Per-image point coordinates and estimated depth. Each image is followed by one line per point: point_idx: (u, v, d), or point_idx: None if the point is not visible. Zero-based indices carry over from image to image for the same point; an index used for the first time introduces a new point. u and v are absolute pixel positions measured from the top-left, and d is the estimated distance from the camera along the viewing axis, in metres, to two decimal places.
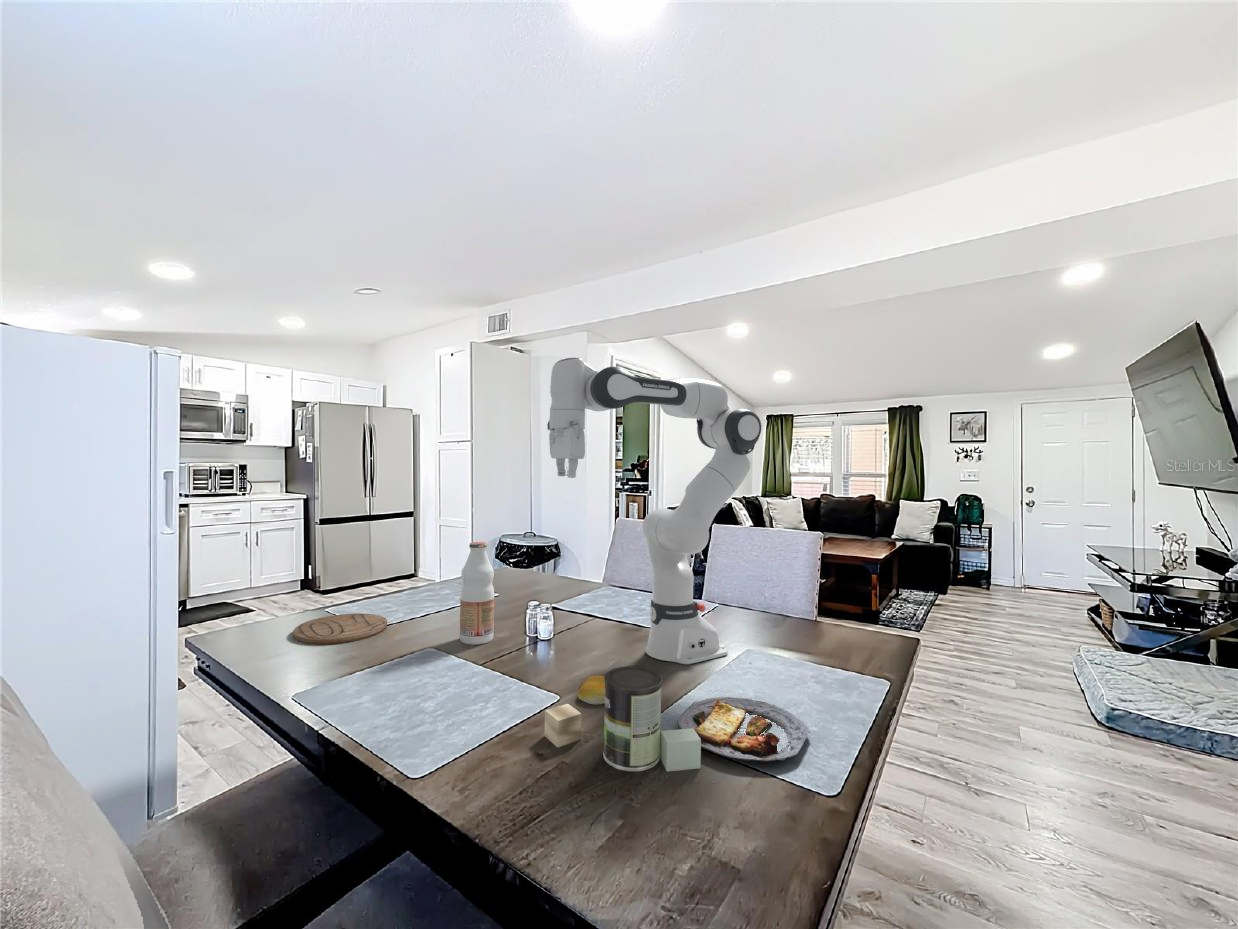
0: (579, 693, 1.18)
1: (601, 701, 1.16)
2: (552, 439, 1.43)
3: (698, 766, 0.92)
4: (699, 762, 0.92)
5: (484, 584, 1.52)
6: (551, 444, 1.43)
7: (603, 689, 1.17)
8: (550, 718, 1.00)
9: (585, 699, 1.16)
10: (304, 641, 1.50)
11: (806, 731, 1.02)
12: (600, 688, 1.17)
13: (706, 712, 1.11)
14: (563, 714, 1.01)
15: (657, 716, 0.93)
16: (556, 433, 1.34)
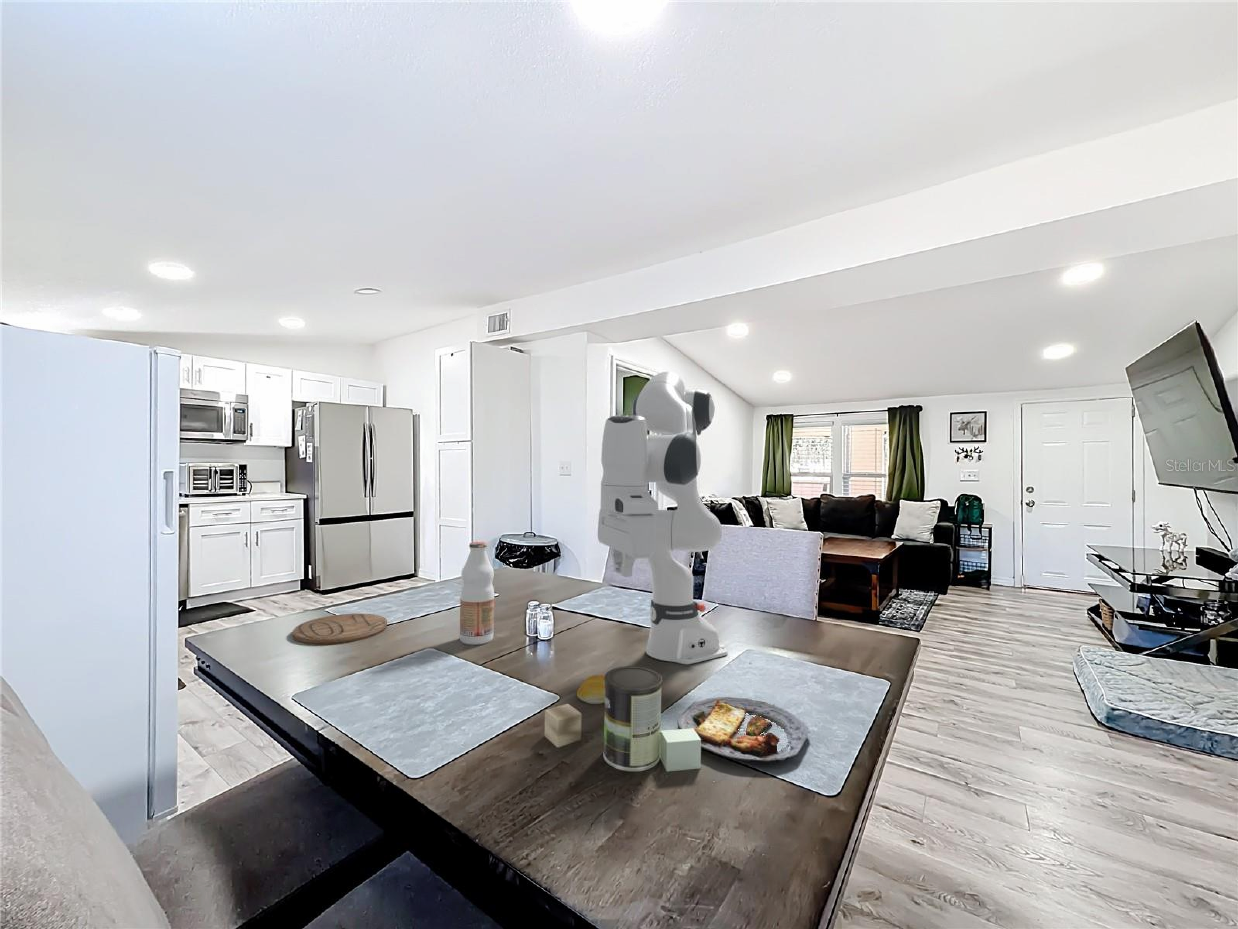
0: (578, 692, 1.18)
1: (600, 700, 1.16)
2: None
3: (698, 766, 0.92)
4: (699, 762, 0.92)
5: (484, 584, 1.52)
6: None
7: (602, 688, 1.17)
8: (550, 718, 1.00)
9: (584, 698, 1.16)
10: (304, 641, 1.50)
11: (806, 731, 1.02)
12: (599, 687, 1.17)
13: (706, 712, 1.11)
14: (563, 714, 1.01)
15: (657, 716, 0.93)
16: None
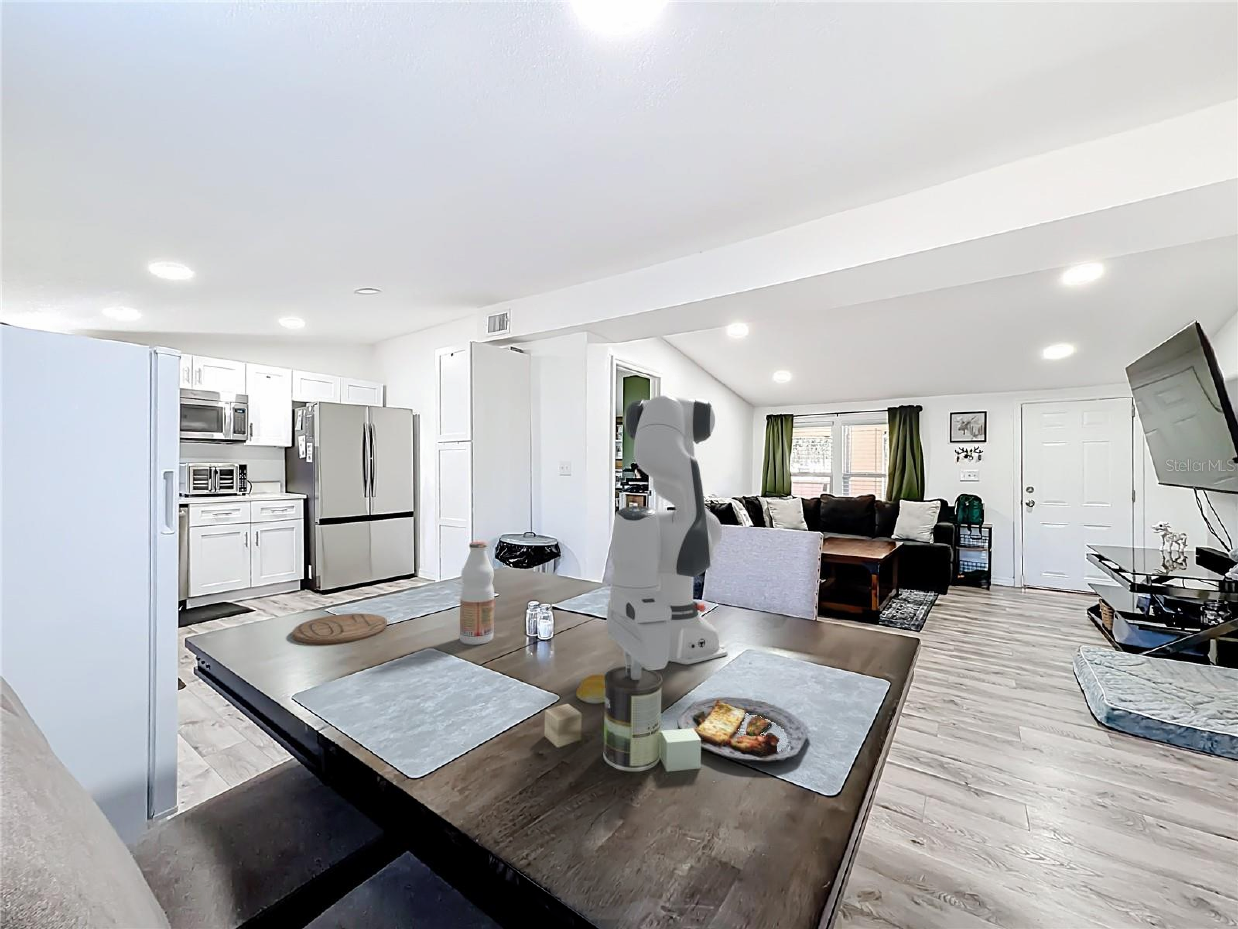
0: (578, 692, 1.18)
1: (600, 700, 1.16)
2: None
3: (698, 766, 0.92)
4: (699, 762, 0.92)
5: (484, 584, 1.52)
6: None
7: (601, 688, 1.17)
8: (550, 718, 1.00)
9: (584, 698, 1.16)
10: (304, 641, 1.50)
11: (806, 731, 1.02)
12: (598, 687, 1.17)
13: (706, 712, 1.11)
14: (563, 714, 1.01)
15: (657, 716, 0.93)
16: None
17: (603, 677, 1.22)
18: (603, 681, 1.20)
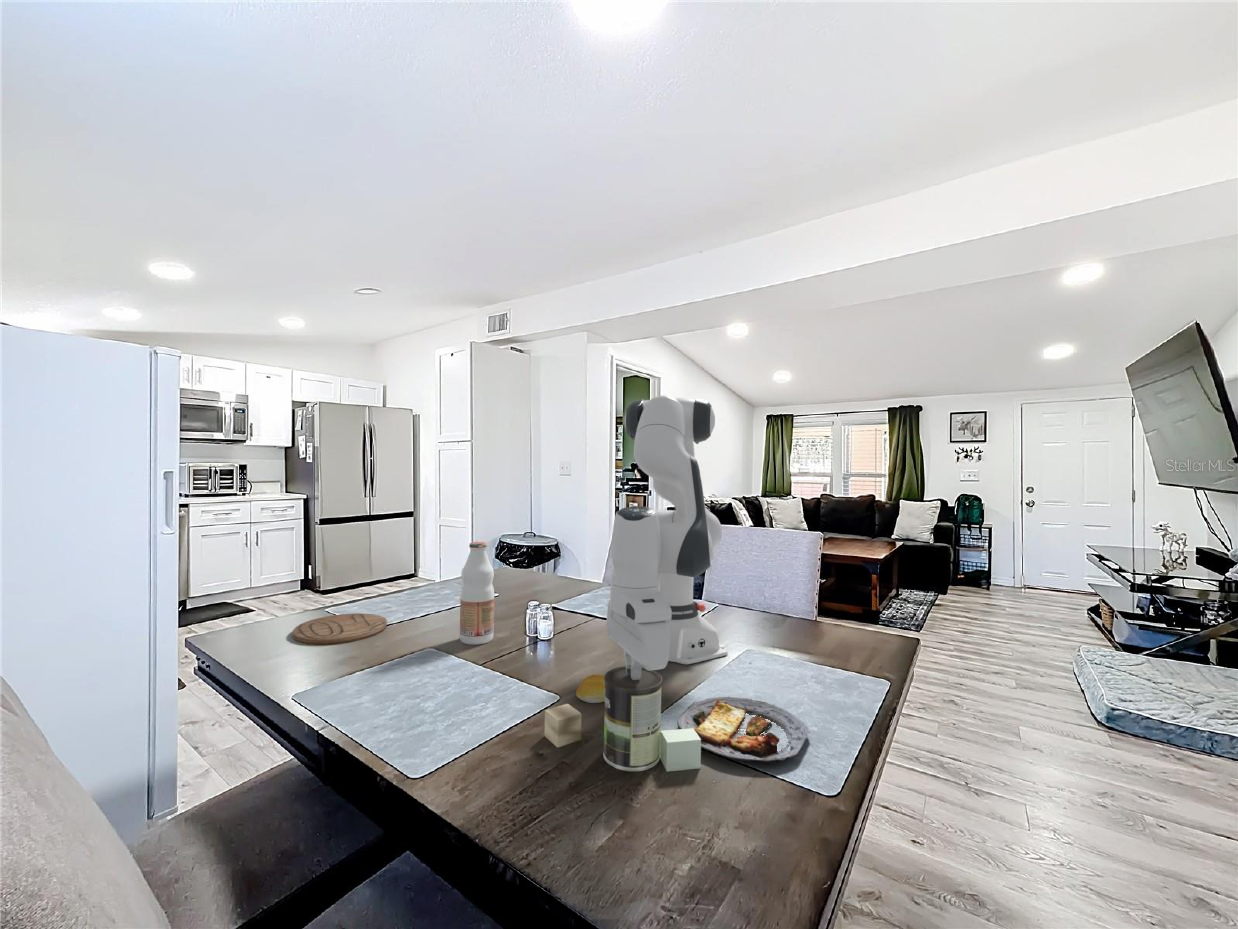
0: (577, 692, 1.18)
1: (599, 700, 1.16)
2: None
3: (698, 766, 0.92)
4: (699, 762, 0.92)
5: (484, 584, 1.52)
6: None
7: (601, 687, 1.17)
8: (550, 718, 1.00)
9: (583, 698, 1.16)
10: (303, 641, 1.50)
11: (806, 731, 1.02)
12: (598, 686, 1.17)
13: (706, 712, 1.11)
14: (563, 714, 1.01)
15: (657, 716, 0.93)
16: None
17: (603, 677, 1.22)
18: (603, 681, 1.21)
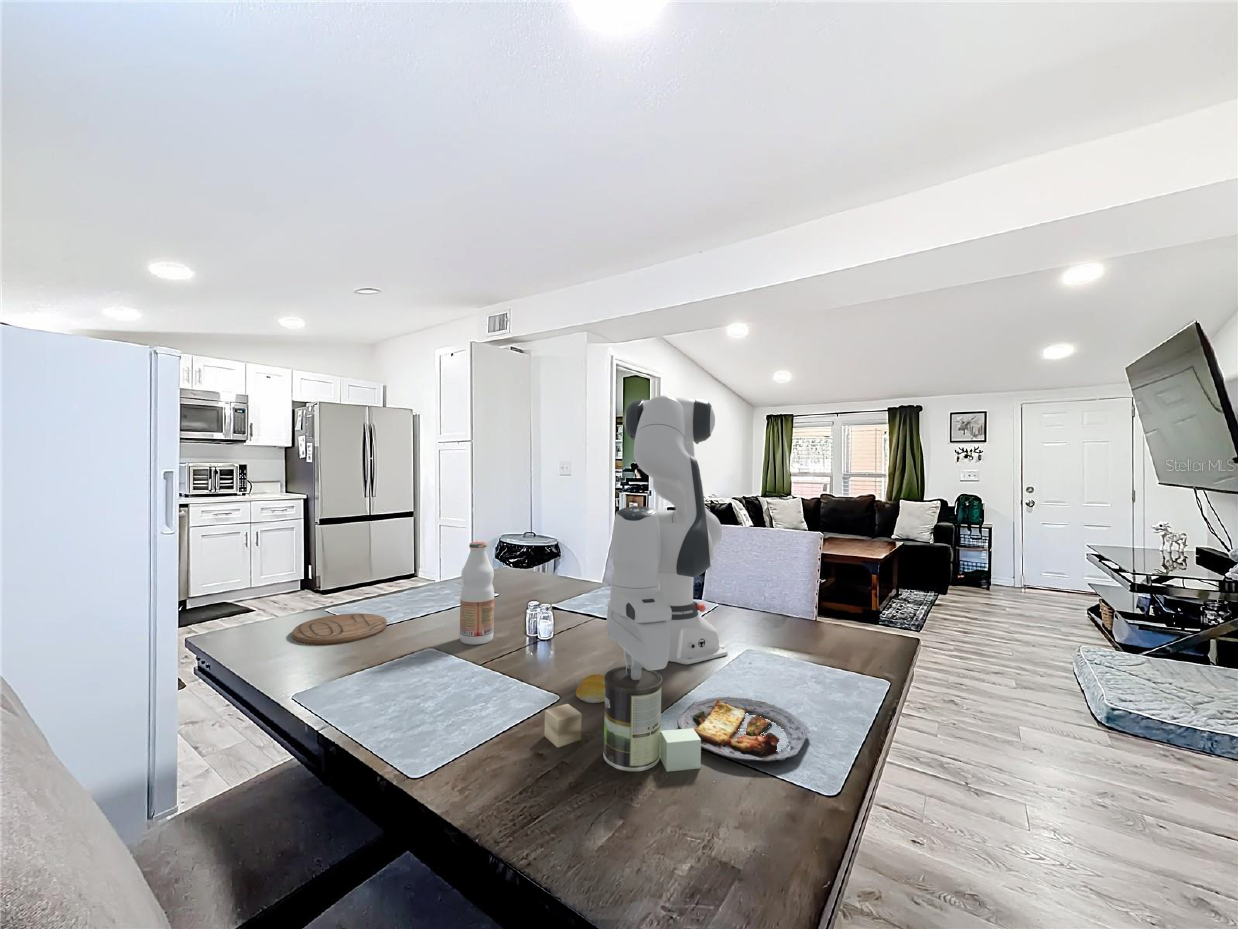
0: (577, 691, 1.18)
1: (599, 700, 1.16)
2: None
3: (698, 766, 0.92)
4: (699, 762, 0.92)
5: (484, 584, 1.52)
6: None
7: (601, 687, 1.17)
8: (550, 718, 1.00)
9: (583, 697, 1.17)
10: (303, 641, 1.50)
11: (806, 731, 1.02)
12: (598, 686, 1.17)
13: (706, 712, 1.11)
14: (563, 714, 1.01)
15: (657, 716, 0.93)
16: None
17: (602, 677, 1.22)
18: (602, 681, 1.21)
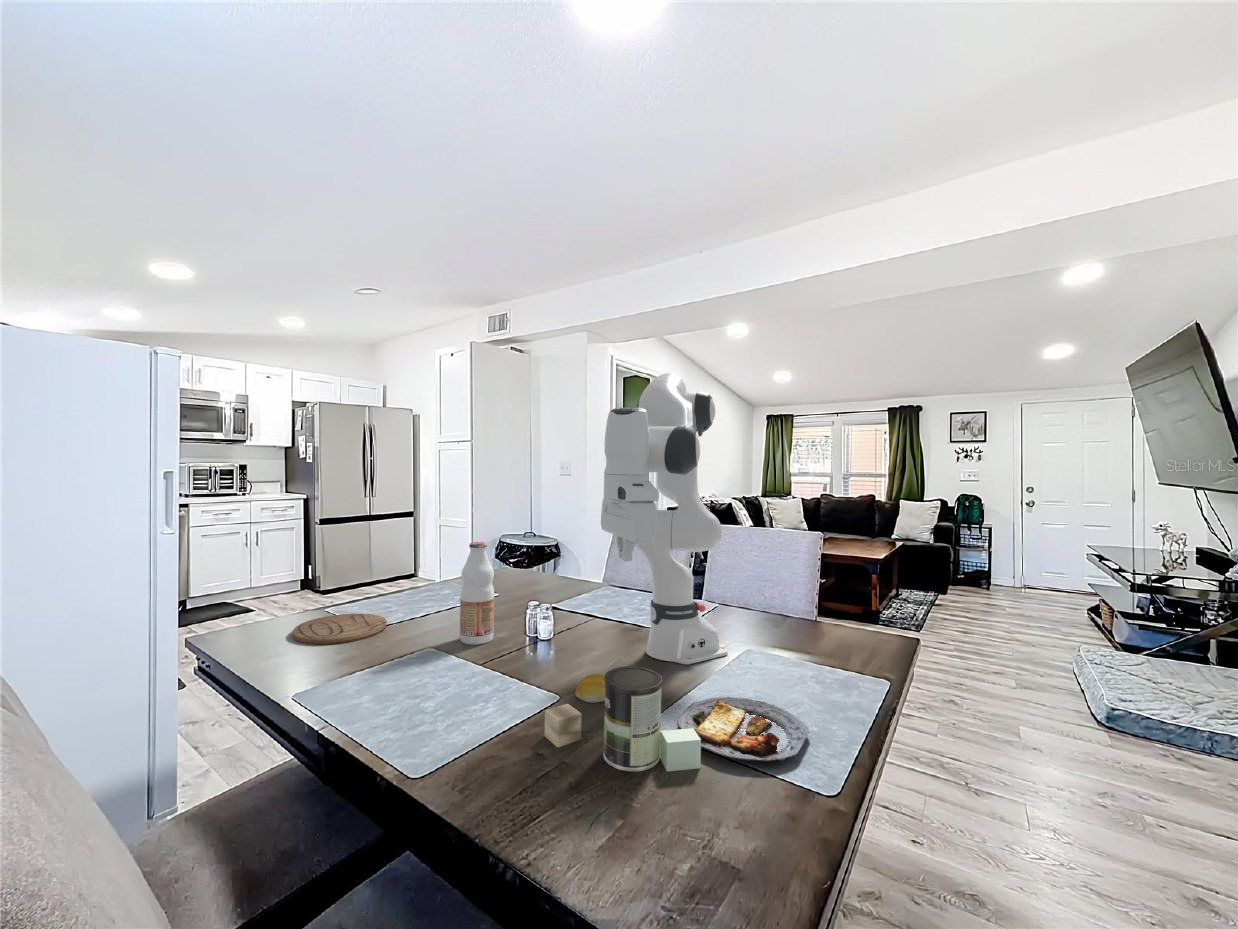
0: (577, 691, 1.18)
1: (598, 699, 1.16)
2: None
3: (698, 766, 0.92)
4: (699, 762, 0.92)
5: (484, 584, 1.52)
6: None
7: (600, 687, 1.18)
8: (550, 718, 1.00)
9: (582, 697, 1.17)
10: (303, 641, 1.50)
11: (806, 731, 1.02)
12: (597, 686, 1.18)
13: (706, 712, 1.11)
14: (563, 714, 1.01)
15: (657, 716, 0.93)
16: None
17: (602, 676, 1.22)
18: (602, 680, 1.21)
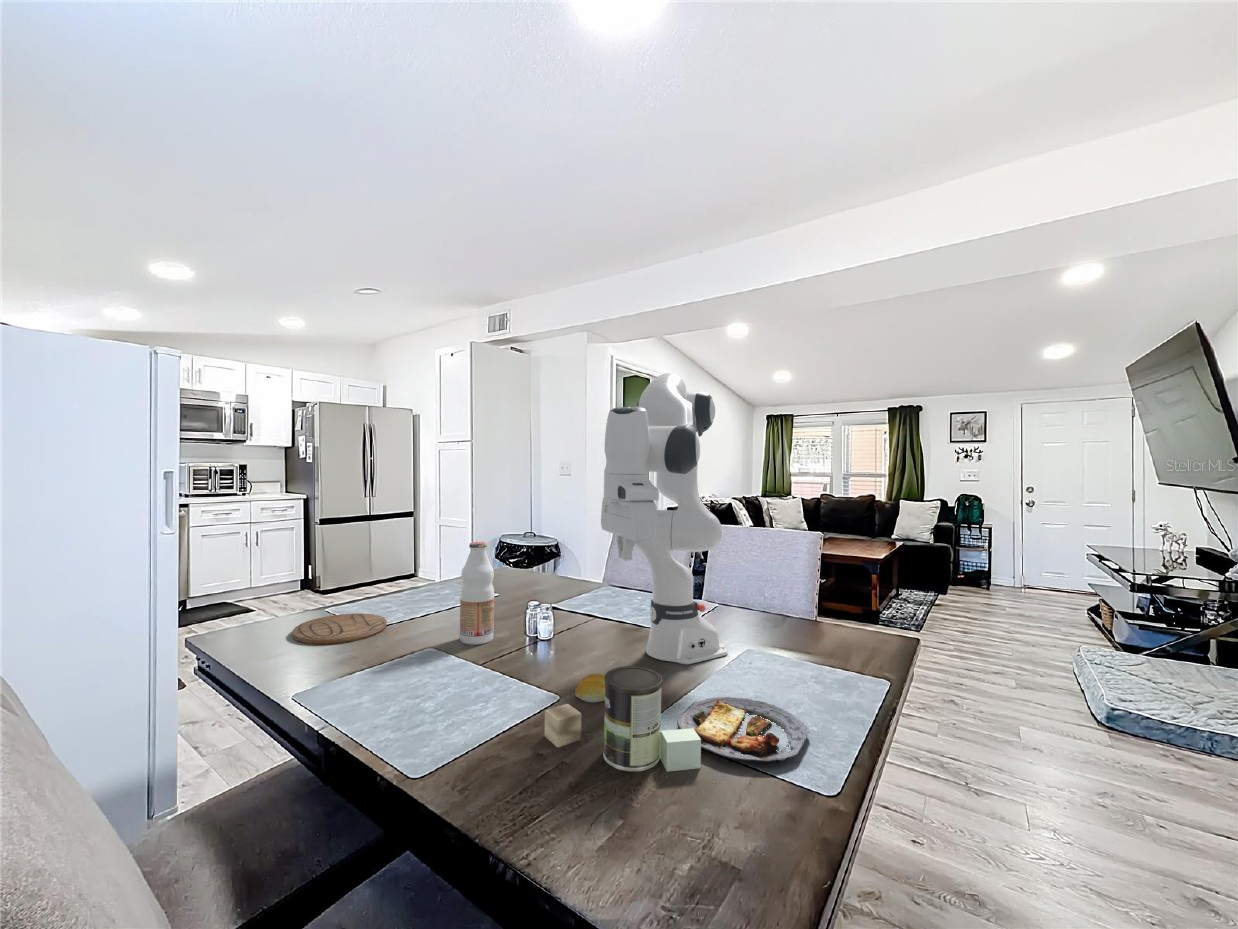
0: (576, 691, 1.18)
1: (598, 699, 1.16)
2: None
3: (698, 766, 0.92)
4: (699, 762, 0.92)
5: (484, 584, 1.52)
6: None
7: (600, 687, 1.18)
8: (550, 718, 1.00)
9: (582, 697, 1.17)
10: (303, 641, 1.50)
11: (806, 731, 1.02)
12: (597, 686, 1.18)
13: (706, 712, 1.11)
14: (563, 714, 1.01)
15: (657, 716, 0.93)
16: None
17: (602, 676, 1.22)
18: (602, 680, 1.21)
